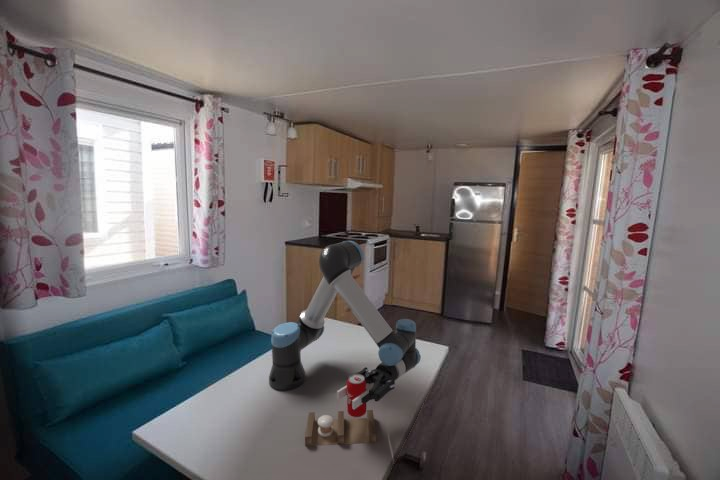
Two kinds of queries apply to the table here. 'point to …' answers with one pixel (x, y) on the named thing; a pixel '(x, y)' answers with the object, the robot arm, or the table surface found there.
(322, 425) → the white knob
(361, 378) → the beverage can
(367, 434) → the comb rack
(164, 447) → the table surface
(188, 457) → the table surface
